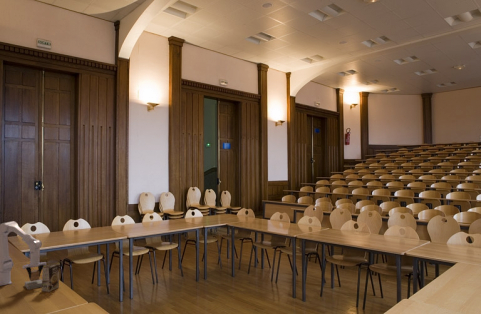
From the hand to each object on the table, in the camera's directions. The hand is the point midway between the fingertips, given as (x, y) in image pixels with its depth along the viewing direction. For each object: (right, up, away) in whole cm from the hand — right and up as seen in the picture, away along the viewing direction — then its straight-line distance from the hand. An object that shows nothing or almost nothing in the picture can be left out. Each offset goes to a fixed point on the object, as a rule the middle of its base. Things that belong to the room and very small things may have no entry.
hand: (34, 277), depth 248 cm
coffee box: (+15, -7, -6) cm, 17 cm away
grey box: (0, -7, 0) cm, 7 cm away
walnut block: (0, -2, 0) cm, 2 cm away
